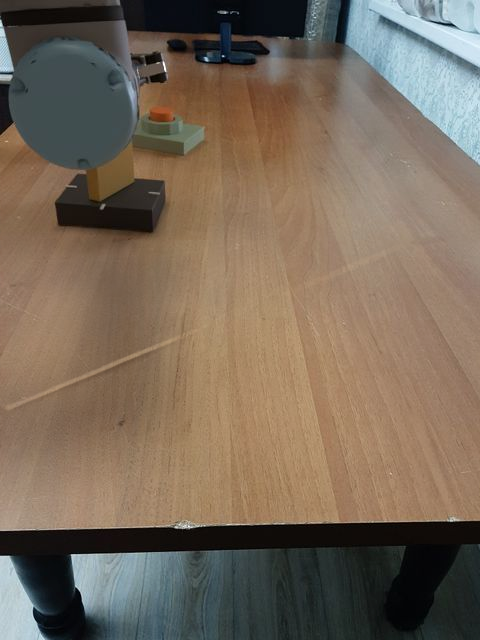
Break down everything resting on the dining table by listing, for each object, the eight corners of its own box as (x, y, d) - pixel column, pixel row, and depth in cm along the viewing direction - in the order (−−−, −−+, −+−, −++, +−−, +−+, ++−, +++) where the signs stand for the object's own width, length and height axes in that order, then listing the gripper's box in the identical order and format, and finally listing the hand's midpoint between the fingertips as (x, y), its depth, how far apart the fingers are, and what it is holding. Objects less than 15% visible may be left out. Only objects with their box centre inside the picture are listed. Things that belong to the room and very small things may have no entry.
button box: (118, 144, 97) (116, 120, 95) (143, 129, 105) (142, 106, 103) (183, 155, 95) (183, 131, 93) (204, 139, 103) (204, 116, 101)
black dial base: (54, 228, 71) (50, 204, 69) (81, 191, 81) (78, 169, 79) (152, 236, 71) (151, 212, 69) (167, 198, 81) (166, 176, 79)
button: (146, 121, 97) (145, 111, 96) (155, 116, 100) (155, 105, 99) (168, 125, 96) (167, 114, 95) (177, 119, 99) (176, 109, 98)
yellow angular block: (99, 202, 71) (93, 143, 66) (88, 199, 71) (82, 140, 67) (134, 181, 77) (131, 126, 72) (124, 179, 77) (120, 124, 73)
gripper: (31, 151, 48) (65, 113, 69) (181, 118, 49) (171, 91, 69) (-5, 54, 45) (42, 44, 65) (158, 20, 45) (154, 21, 66)
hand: (109, 68), depth 67 cm, fingers closed
